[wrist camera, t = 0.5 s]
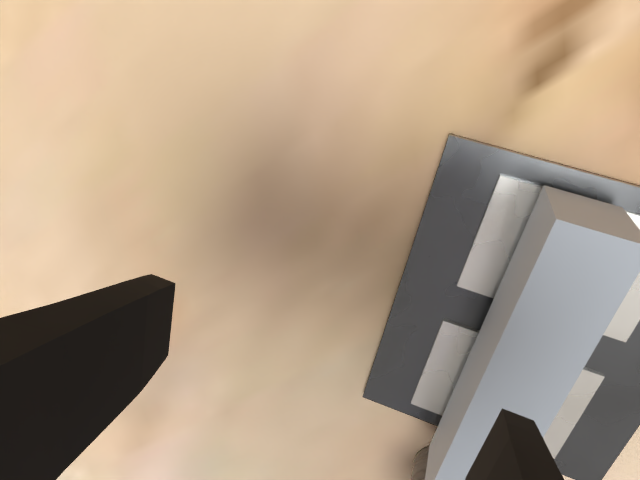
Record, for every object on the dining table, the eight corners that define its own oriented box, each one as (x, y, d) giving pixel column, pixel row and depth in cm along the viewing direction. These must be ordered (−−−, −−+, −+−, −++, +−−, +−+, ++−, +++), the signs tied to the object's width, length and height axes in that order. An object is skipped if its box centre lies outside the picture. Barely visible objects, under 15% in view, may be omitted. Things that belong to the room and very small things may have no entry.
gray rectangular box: (485, 467, 20) (485, 536, 18) (429, 445, 21) (420, 509, 18) (622, 207, 15) (654, 247, 12) (543, 184, 16) (556, 218, 13)
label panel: (594, 481, 20) (597, 491, 20) (364, 392, 22) (361, 399, 22) (772, 222, 15) (781, 228, 14) (449, 133, 17) (448, 136, 16)
